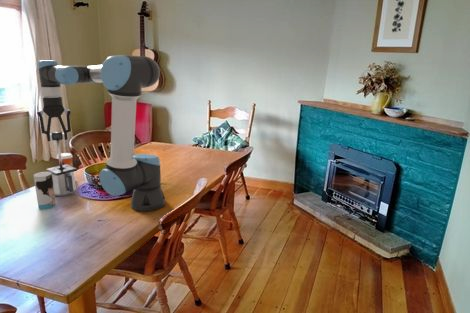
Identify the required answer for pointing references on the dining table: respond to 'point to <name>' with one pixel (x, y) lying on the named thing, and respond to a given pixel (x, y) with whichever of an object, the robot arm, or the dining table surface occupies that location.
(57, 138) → the plunger
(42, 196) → the cup
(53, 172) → the lidded canister
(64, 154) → the paper cup
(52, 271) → the dining table surface
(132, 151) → the robot arm
